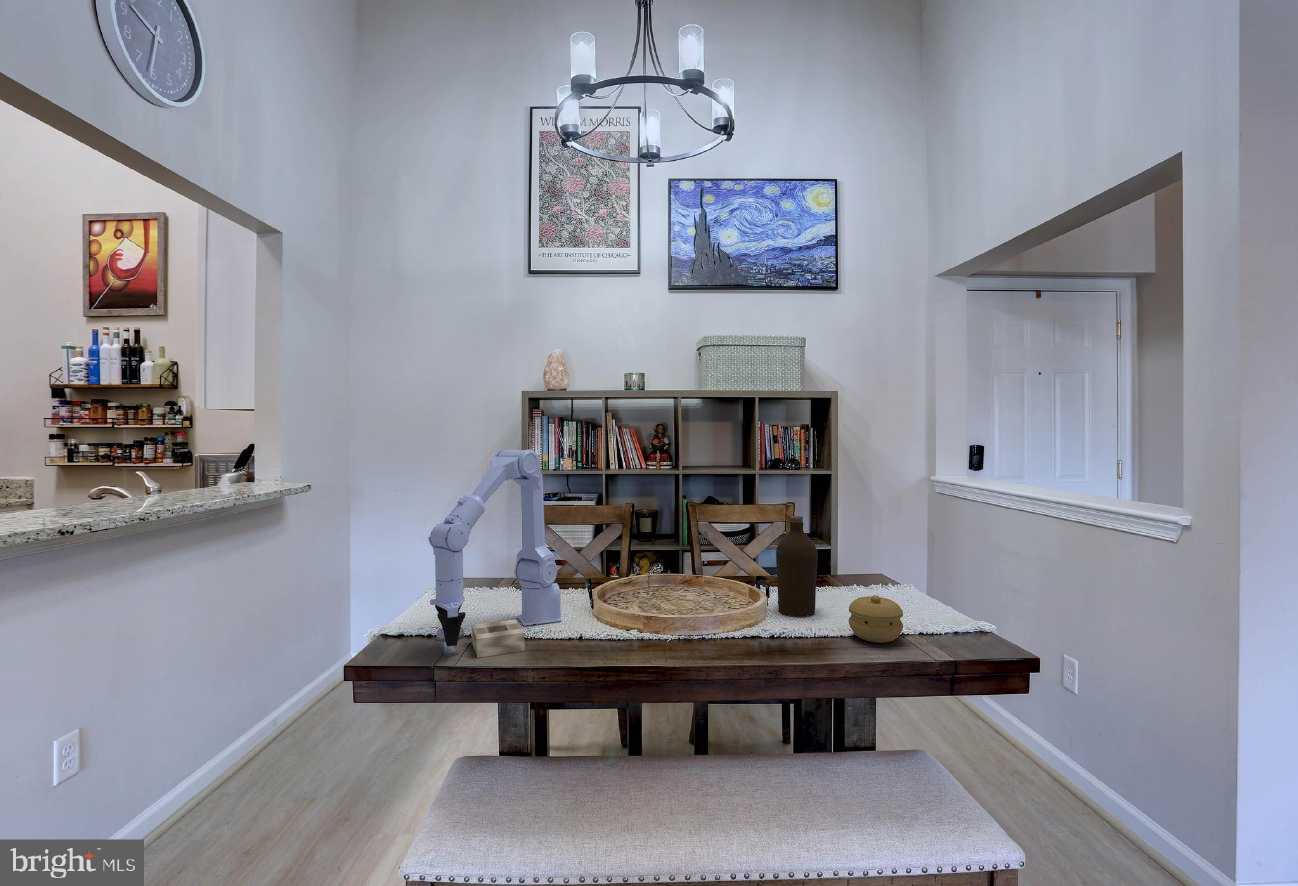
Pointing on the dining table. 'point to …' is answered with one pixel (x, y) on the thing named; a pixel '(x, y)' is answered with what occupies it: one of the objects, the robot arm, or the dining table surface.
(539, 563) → the robot arm
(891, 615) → the lidded pot
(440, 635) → the grey metal knob
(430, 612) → the dining table surface
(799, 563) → the olive oil
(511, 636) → the maple block
